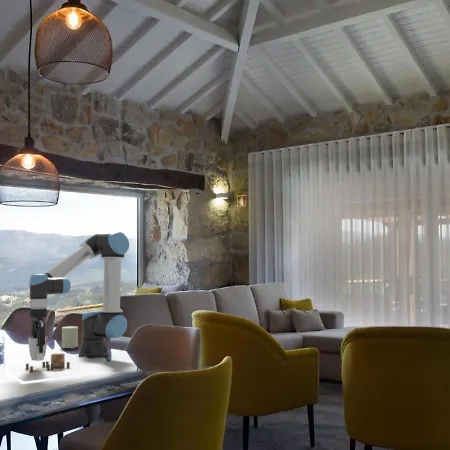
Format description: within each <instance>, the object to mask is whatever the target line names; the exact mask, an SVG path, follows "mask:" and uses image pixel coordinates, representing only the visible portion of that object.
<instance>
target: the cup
mask: <svg viewBox="0 0 450 450" xmlns="http://www.w3.org/2000/svg"><path fill="white" fill-rule="evenodd" d="M27 341H28V351H29V356H30V359H31V361H36V362H38V361H37V346H36V345H37V344H38V338H33V337H31V336H29V337H28V340H27ZM47 344H48V336H46V335H45V345H44V357H45V355H46V351H47V346H48V345H47Z"/></svg>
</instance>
